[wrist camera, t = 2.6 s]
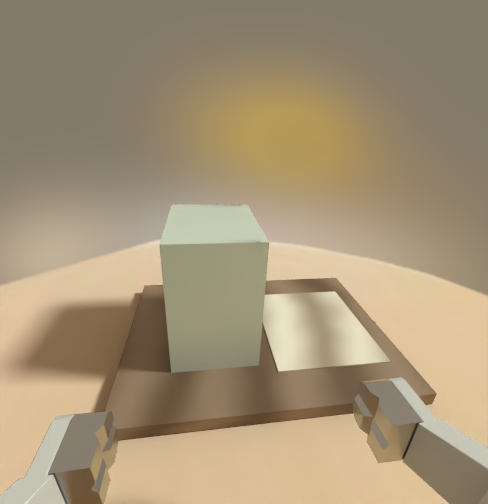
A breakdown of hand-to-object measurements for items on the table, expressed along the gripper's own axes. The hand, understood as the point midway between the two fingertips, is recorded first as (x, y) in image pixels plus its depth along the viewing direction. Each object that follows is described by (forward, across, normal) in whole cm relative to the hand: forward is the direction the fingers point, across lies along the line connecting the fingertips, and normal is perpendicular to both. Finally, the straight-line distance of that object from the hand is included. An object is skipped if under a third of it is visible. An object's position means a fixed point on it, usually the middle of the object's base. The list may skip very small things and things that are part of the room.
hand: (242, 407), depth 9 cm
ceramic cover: (+13, 0, +8) cm, 15 cm away
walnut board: (+13, -4, +9) cm, 16 cm away
